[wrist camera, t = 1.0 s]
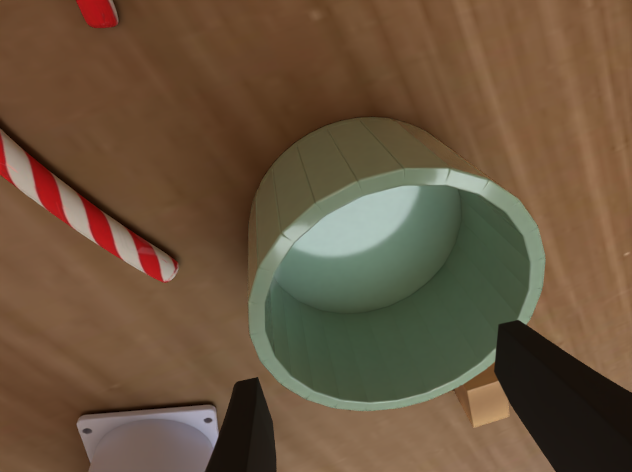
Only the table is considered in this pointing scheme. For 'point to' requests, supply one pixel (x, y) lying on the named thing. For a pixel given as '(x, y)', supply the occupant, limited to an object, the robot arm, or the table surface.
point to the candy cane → (72, 207)
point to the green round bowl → (384, 266)
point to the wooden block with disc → (483, 398)
